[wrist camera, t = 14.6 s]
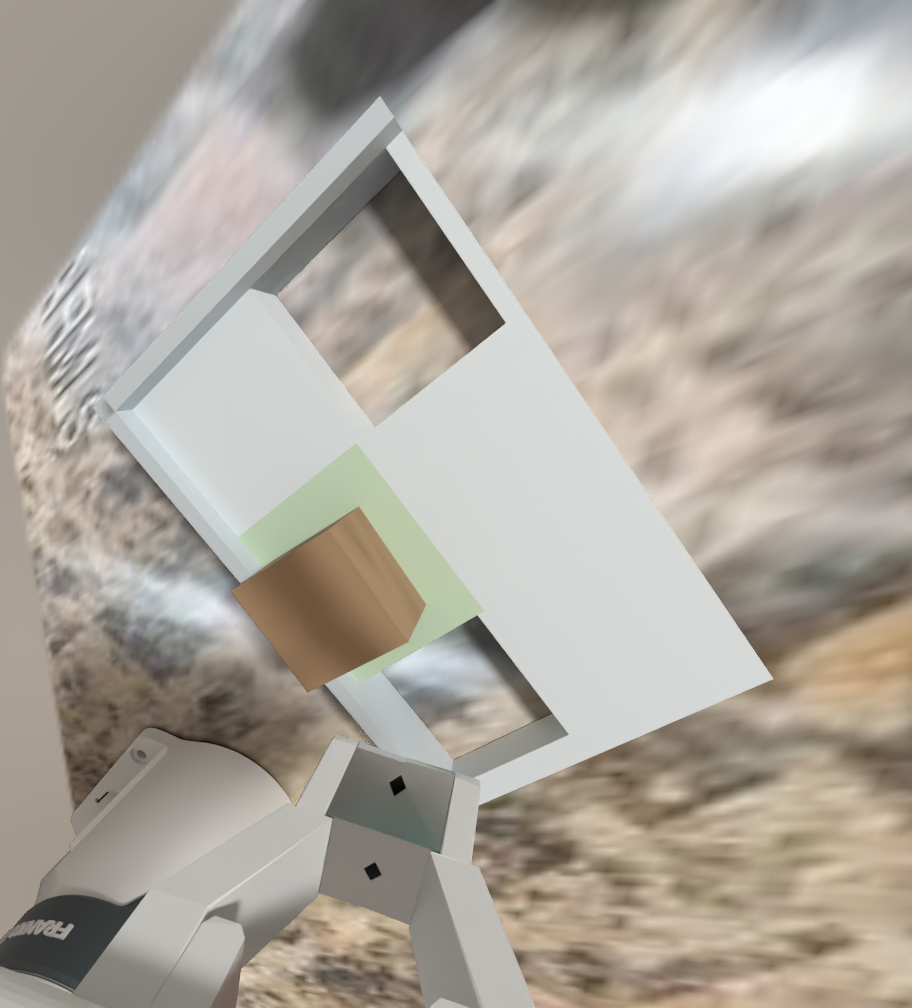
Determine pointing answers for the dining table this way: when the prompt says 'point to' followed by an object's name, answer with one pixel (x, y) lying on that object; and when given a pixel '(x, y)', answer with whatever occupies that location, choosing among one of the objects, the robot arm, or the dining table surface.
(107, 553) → the dining table surface
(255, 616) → the walnut block
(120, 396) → the board
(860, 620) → the dining table surface
